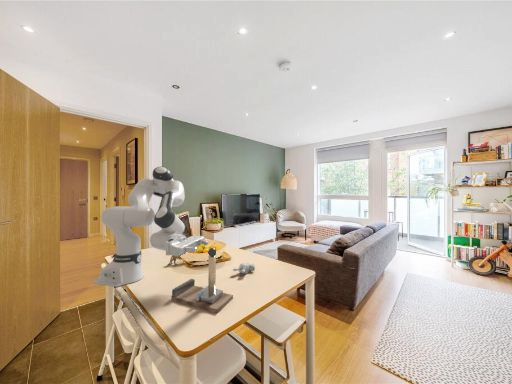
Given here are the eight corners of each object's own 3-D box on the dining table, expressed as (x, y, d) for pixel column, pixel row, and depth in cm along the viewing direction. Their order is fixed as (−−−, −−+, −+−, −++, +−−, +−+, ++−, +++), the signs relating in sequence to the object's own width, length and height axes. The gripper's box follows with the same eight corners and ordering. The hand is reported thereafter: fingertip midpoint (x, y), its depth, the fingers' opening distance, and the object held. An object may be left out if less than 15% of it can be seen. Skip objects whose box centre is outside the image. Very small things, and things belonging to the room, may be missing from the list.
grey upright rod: (196, 301, 84) (196, 249, 84) (210, 290, 93) (211, 244, 93) (210, 305, 81) (211, 251, 81) (224, 293, 90) (224, 245, 90)
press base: (171, 299, 88) (171, 289, 88) (190, 287, 99) (190, 278, 99) (217, 313, 78) (217, 301, 78) (232, 298, 89) (233, 288, 89)
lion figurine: (190, 260, 138) (190, 247, 138) (192, 262, 133) (192, 249, 133) (167, 264, 130) (167, 250, 130) (168, 267, 126) (168, 252, 126)
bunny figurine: (258, 263, 123) (245, 268, 110) (257, 271, 122) (244, 277, 110) (245, 260, 128) (231, 264, 115) (244, 268, 127) (230, 274, 114)
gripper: (191, 243, 111) (213, 246, 106) (163, 256, 92) (188, 260, 87) (191, 231, 111) (213, 234, 106) (163, 243, 91) (188, 246, 87)
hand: (202, 246), depth 96 cm, fingers open, 8 cm apart
